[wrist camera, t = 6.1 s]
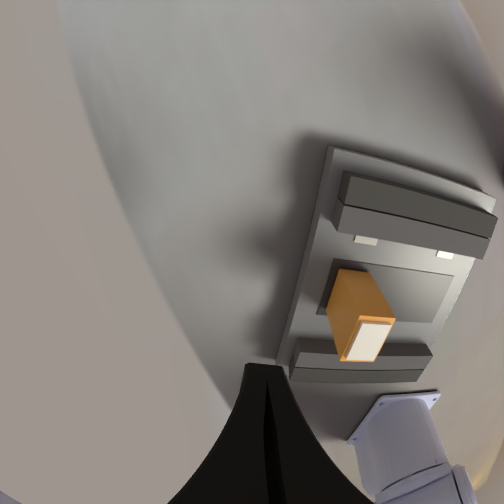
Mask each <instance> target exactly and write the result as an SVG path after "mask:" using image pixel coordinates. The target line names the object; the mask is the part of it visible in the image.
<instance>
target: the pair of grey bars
mask: <svg viewBox="0 0 504 504" xmlns="http://www.w3.org/2000/svg"><path fill="white" fill-rule="evenodd" d="M338 197H339V198H337V200H336V204H335V208H334V212H333V216H332V220H331V223H332V224H333V226H334V228H335V229H336V231H337V232H340V233H346V234H352V235H357V236H363V237H369V238H374V239H380V240H386V241H391V242H397V243H402V244H407V245H413V246H418V247H423V248H428V249H433V250H438V251H443V252H448V253H453V254H458V255H463V256H468V257H473V258H477V259H482V260H483V257H484V255H485V252H486V250H487V247H488V245H489V242H490V239H488V238H491V237H492V234H493V231H494V228H495V225H496V222H497V220H498V218H497V217H496V216H494V215H492V214H491V213H489V212H488V211H486V210H483V209H481V208H478V207H475V206H472V205H469V204H466V203H463V202H460V201H457V200H454V199H450V198H447V197H444V196H441V195H438V194H434V193H431V192H427V191H424V190H421V189H417V188H413V187H410V186H406V185H402V184H399V183H395V182H391V181H387V180H383V179H379V178H375V177H371V176H367V175H363V174H358V173H354V172H349V171H345V170H343V174H342V179H341V183H340V187H339V192H338ZM432 357H433V355H432V353H431V351H430V350H429V348H428V346H427V344H399V343H384V344H383V346H382V347H381V349H380V351H379V353H378V355H377V357H376V359H375V361H374V362H353V361H340V360H339V356H338V352H337V349H336V345H335V342H334V340H321V339H309V338H298V339H297V342H296V345H295V348H294V351H293V354H292V357H291V360H290V363H289V366H288V367H289V377H290V381H301V382H321V383H397V382H416V381H417V380H418V378H419V377H420V375H421V374H422V372H423V371H424V369H425V368H426V366H427V365H428V363H429V361H430V360H431V358H432Z"/></svg>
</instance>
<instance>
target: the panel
mask: <svg viewBox="0 0 504 504" xmlns="http://www.w3.org/2000/svg"><path fill="white" fill-rule="evenodd" d="M343 170H345V171H349V172H354V173H358V174H363V175H367V176H371V177H375V178H379V179H383V180H387V181H391V182H395V183H399V184H402V185H406V186H410V187H413V188H417V189H421V190H424V191H427V192H431V193H434V194H438V195H441V196H444V197H447V198H450V199H454V200H457V201H460V202H463V203H466V204H469V205H472V206H475V207H478V208H481V209H483V210H486V211H488V212H489V213H491V214H492V210H493V207H494V204H495V201H496V198H494V197H492V196H490V195H488V194H487V193H485V192H482V191H480V190H477V189H475V188H472V187H470V186H467V185H464V184H461V183H459V182H456V181H453V180H450V179H447V178H445V177H442V176H439V175H436V174H433V173H430V172H427V171H423V170H420V169H417V168H414V167H410V166H407V165H404V164H400V163H397V162H393V161H390V160H386V159H383V158H379V157H375V156H371V155H367V154H363V153H359V152H355V151H351V150H347V149H343V148H338V147H334V146H329V145H328V148H327V153H326V158H325V163H324V168H323V172H322V177H321V182H320V187H319V191H318V196H317V200H316V205H315V209H314V214H313V218H312V222H311V227H310V231H309V235H308V239H307V244H306V248H305V252H304V256H303V260H302V264H301V268H300V272H299V276H298V280H297V284H296V288H295V291H294V295H293V299H292V303H291V307H290V310H289V314H288V318H287V321H286V325H285V329H284V332H283V336H282V339H281V343H280V346H279V350H278V353H277V357H276V360H275V361H276V365H277V366H282V367H283V368H284V372H285V375H289V367H288V366H289V363H290V360H291V357H292V354H293V351H294V348H295V345H296V342H297V339H298V338H309V339H321V340H334V338H333V334H332V331H331V327H330V324H329V320H328V317H327V313H326V308H327V305H328V302H329V299H330V296H331V293H332V290H333V287H334V284H335V280H336V277H337V274H338V271H339V269H346V270H354V271H361V272H368V273H370V274H371V275H372V277H373V279H374V280H375V282H376V284H377V285H378V287H379V289H380V291H381V292H382V294H383V296H384V298H385V299H386V301H387V303H388V305H389V306H390V308H391V310H392V312H393V314H394V315H395V317H396V319H395V321H394V324H393V326H392V328H391V330H390V332H389V334H388V336H387V338H386V340H385V342H384V343H399V344H427V346H428V348H429V349H430V348H431V346H432V344H433V343H434V341H435V339H436V337H437V336H438V334H439V332H440V330H441V329H442V327H443V325H444V323H445V321H446V319H447V317H448V316H449V314H450V312H451V310H452V308H453V306H454V304H455V302H456V300H457V298H458V296H459V294H460V291H461V289H462V287H463V285H464V283H465V281H466V278H467V276H468V274H469V272H470V269H471V267H472V265H473V262H474V260H475V258H473V257H468V256H463V255H458V254H453V253H448V252H443V251H438V250H433V249H428V248H423V247H418V246H413V245H407V244H402V243H397V242H391V241H386V240H380V239H374V238H369V237H363V236H357V235H352V234H346V233H340V232H337V231H336V229H335V228H334V226H333V224H332V223H331V220H332V216H333V212H334V208H335V204H336V200H337V198H339V197H338V192H339V187H340V183H341V179H342V174H343Z"/></svg>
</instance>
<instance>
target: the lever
mask: <svg viewBox="0 0 504 504" xmlns="http://www.w3.org/2000/svg"><path fill="white" fill-rule="evenodd" d="M326 313H327V317H328V320H329V324H330V327H331V331H332V334H333V338H334V342H335V345H336V349H337V352H338V356H339V360H340V361H353V362H374V361H375V359H376V357H377V355H378V353H379V351H380V349H381V347H382V346H383V344H384V342H385V340H386V338H387V336H388V334H389V332H390V330H391V328H392V326H393V324H394V321H395V319H396V317H395V315H394V314H393V312H392V310H391V308H390V306H389V305H388V303H387V301H386V299H385V298H384V296H383V294H382V292H381V291H380V289H379V287H378V285H377V284H376V282H375V280H374V279H373V277H372V275H371V274H370V273H368V272H361V271H354V270H346V269H339V271H338V274H337V277H336V280H335V284H334V287H333V290H332V293H331V296H330V299H329V302H328V305H327V308H326Z"/></svg>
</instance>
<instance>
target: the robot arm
mask: <svg viewBox="0 0 504 504" xmlns="http://www.w3.org/2000/svg"><path fill="white" fill-rule="evenodd" d="M440 395H441V393H440V391H435V392H425V393H413V394H399V395H383V396H381V397H379V398H378V400H377V401H376V403H375V404H374V406H373V407H372V408H371V410H370V411H369V413H368V414H367V415H366V417H365V418H364V419H363V421H362V422H361V424H360V425H359V426H358V428H357V429H356V430H355V431H354V433H353V434H352V435H351V437H350V438H349V439H348V440H347V445H354V446H355V451H356V456H357V461H358V466H359V471H360V476H361V481H362V485H363V487H364V489H365V491H366V492H367V493H368V494H369V495H370V496H372V497H374V498H375V500H376V502H372V501H370V500H369V499H368V498H367V497H366V496H365V495H364V494H362V493H361V492H360V491H359V490H358V489H357V488H356V487H355V486H354V485H353V484H352V483H351V482H350V481H349V480H348V479H347V477H346V476H345V475H344V474H343V473H342V472H341V471H340V470H339V469H338V467H337V466H336V465H335V464H334V463H333V461H332V460H331V459H330V457H329V456H328V455H327V453H326V452H325V451H324V449H323V448H322V446H321V445H320V443H319V442H318V440H317V439H316V437H315V436H314V434H313V432H312V431H311V429H310V427H309V425H308V424H307V422H306V420H305V418H304V416H303V414H302V412H301V410H300V408H299V406H298V404H297V402H296V400H295V398H294V395H293V393H292V390H291V388H290V386H289V383H288V380H287V378H286V375H285V372H284V368H283V367H282V366H277V365H266V364H256V363H247V364H245V368H244V373H243V378H242V383H241V388H240V392H239V395H238V398H237V400H236V403H235V405H234V408H233V410H232V412H231V414H230V416H229V418H228V420H227V423H226V425H225V427H224V429H223V430H222V432H221V434H220V436H219V437H218V439H217V441H216V442H215V444H214V446H213V447H212V449H211V451H210V452H209V454H208V455H207V456H206V458H205V459H204V461H203V462H202V464H201V465H200V466H199V468H198V469H197V470H196V472H195V473H194V474H193V475H192V477H191V478H190V479H189V480H188V482H187V483H186V484H185V485H184V487H183V488H182V489H181V490H180V491H179V492H178V493H177V494H176V495H175V496H174V497H173V498H172V499H171V500H170V501H169V502H168V504H478V502H477V499H476V495H475V492H474V489H473V486H472V483H471V480H470V478H469V475H468V473H467V470H466V468H465V466H460V465H459V464H457V465H455V466H454V467H452V466H451V464H450V463H449V460H448V457H447V454H446V452H445V449H444V446H443V443H442V441H441V438H440V436H439V433H438V430H437V428H436V425H435V423H434V420H433V418H432V416H431V413H430V411H429V409H430V408H431V407H432V406H433V404H434V403H435V402H436V401H437V399H438V398H439V397H440ZM0 504H21V503H19V502H18V501H16V500H14V499H13V498H11V497H9V496H8V495H6V494H4V493H3V492H1V491H0Z"/></svg>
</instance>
